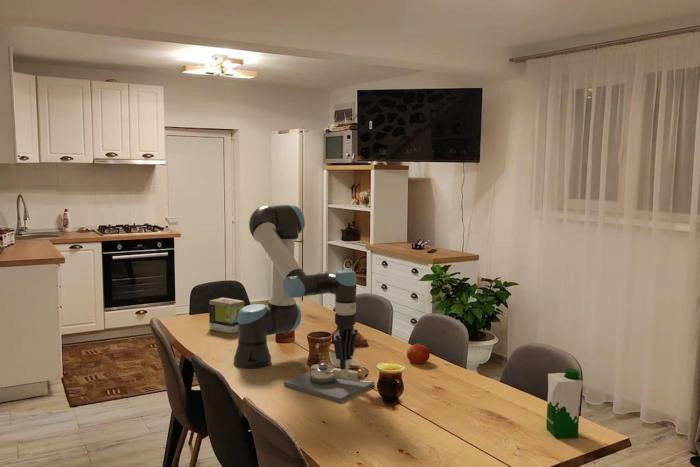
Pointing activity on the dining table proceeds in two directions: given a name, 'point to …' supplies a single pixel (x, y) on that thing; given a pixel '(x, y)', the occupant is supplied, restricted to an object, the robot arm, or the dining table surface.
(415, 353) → the tomato
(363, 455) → the dining table surface
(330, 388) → the base plate
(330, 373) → the grey saucepan
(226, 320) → the tea box
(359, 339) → the pastry
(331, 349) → the lidded jar
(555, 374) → the milk carton
